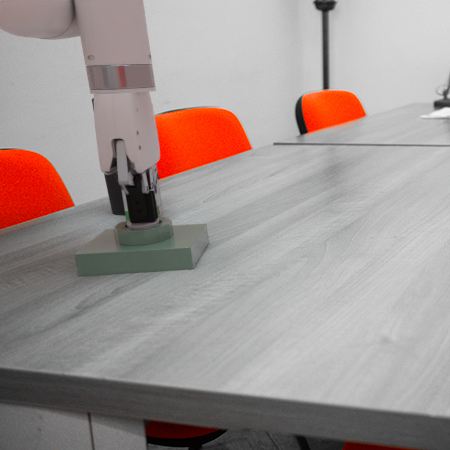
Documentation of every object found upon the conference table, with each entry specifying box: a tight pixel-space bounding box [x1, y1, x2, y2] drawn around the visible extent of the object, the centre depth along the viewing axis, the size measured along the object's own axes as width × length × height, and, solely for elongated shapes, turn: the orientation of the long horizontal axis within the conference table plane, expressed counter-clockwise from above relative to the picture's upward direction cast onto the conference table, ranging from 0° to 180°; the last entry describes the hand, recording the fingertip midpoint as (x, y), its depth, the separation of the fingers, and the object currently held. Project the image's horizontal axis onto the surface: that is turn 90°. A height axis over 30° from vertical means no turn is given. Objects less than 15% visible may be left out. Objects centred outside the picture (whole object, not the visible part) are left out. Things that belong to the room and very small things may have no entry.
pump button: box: [127, 218, 160, 229], centre depth 77 cm, size 4×4×2 cm
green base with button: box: [73, 216, 210, 277], centre depth 77 cm, size 14×11×5 cm
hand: (144, 221), depth 76 cm, fingers closed
